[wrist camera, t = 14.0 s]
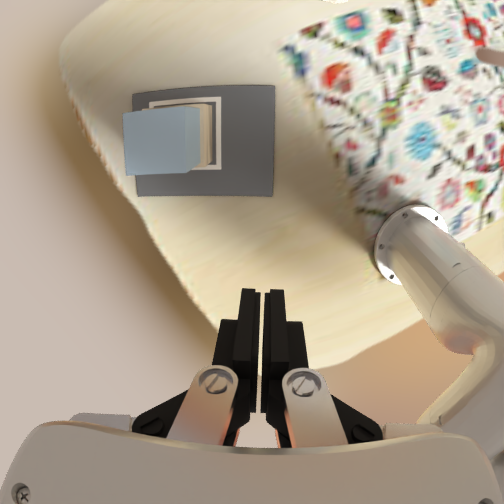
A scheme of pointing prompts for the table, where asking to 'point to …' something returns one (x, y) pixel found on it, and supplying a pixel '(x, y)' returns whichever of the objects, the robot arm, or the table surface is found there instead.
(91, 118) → the table surface
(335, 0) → the white cup
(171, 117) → the blue block
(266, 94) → the mat
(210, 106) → the base block
